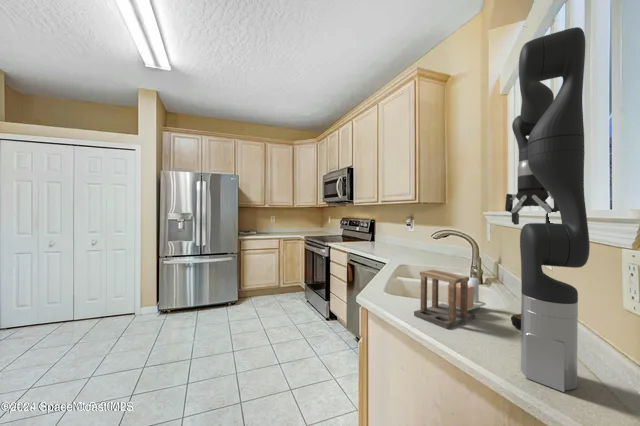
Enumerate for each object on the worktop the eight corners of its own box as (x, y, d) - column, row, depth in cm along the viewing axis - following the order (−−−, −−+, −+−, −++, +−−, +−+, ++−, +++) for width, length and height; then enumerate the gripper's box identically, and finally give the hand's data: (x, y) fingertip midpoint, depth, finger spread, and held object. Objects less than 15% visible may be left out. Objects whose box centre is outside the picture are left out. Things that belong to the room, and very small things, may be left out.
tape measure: (544, 332, 79) (545, 320, 79) (528, 335, 77) (528, 322, 77) (521, 323, 85) (521, 312, 85) (505, 325, 83) (506, 314, 83)
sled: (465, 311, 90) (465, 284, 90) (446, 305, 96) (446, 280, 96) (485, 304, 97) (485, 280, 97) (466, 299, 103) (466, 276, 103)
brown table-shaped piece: (448, 329, 79) (448, 281, 79) (412, 315, 90) (413, 272, 91) (476, 318, 88) (477, 275, 88) (441, 306, 99) (441, 268, 99)
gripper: (501, 176, 88) (501, 224, 88) (556, 170, 76) (556, 226, 76) (512, 178, 92) (511, 224, 92) (565, 173, 80) (565, 226, 80)
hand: (531, 225), depth 84 cm, fingers open, 8 cm apart
